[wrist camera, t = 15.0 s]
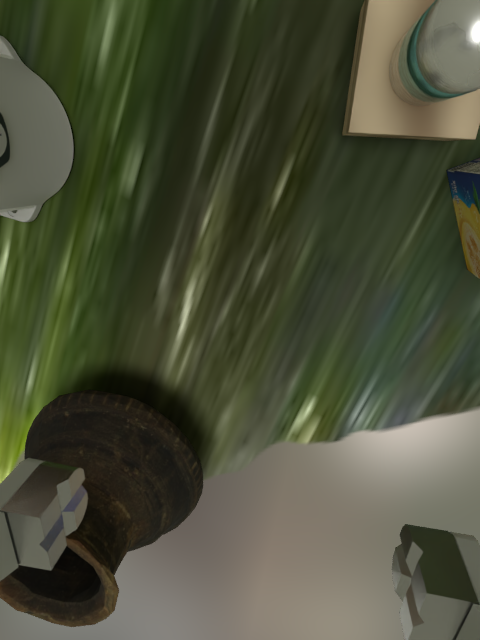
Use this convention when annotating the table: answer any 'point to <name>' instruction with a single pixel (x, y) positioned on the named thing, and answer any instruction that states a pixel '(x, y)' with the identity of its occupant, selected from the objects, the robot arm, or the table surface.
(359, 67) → the oak block
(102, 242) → the table surface
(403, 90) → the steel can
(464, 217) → the beverage box
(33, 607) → the ceramic pot
